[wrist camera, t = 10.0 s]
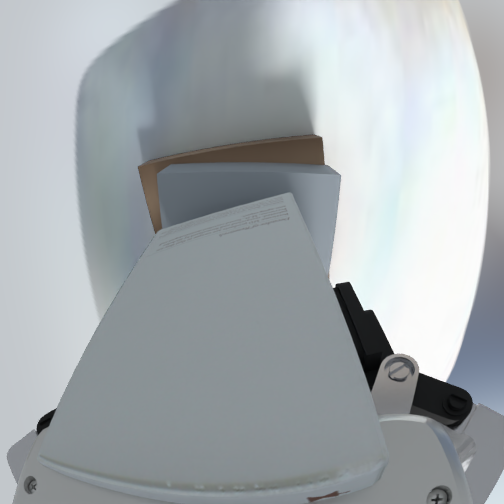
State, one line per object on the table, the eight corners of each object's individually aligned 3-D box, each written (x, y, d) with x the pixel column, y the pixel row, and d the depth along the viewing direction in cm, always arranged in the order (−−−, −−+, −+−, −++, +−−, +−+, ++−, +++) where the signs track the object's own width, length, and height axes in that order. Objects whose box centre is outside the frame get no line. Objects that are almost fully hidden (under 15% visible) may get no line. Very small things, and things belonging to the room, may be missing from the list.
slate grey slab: (313, 295, 22) (320, 320, 19) (184, 293, 22) (176, 318, 19) (327, 165, 17) (340, 175, 15) (171, 164, 17) (156, 173, 15)
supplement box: (154, 227, 15) (20, 454, 3) (293, 188, 14) (411, 461, 2) (203, 331, 18) (172, 530, 7) (318, 306, 17) (371, 517, 6)
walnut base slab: (321, 275, 25) (329, 295, 22) (187, 291, 26) (180, 312, 23) (312, 133, 19) (322, 137, 17) (152, 159, 20) (137, 166, 17)
